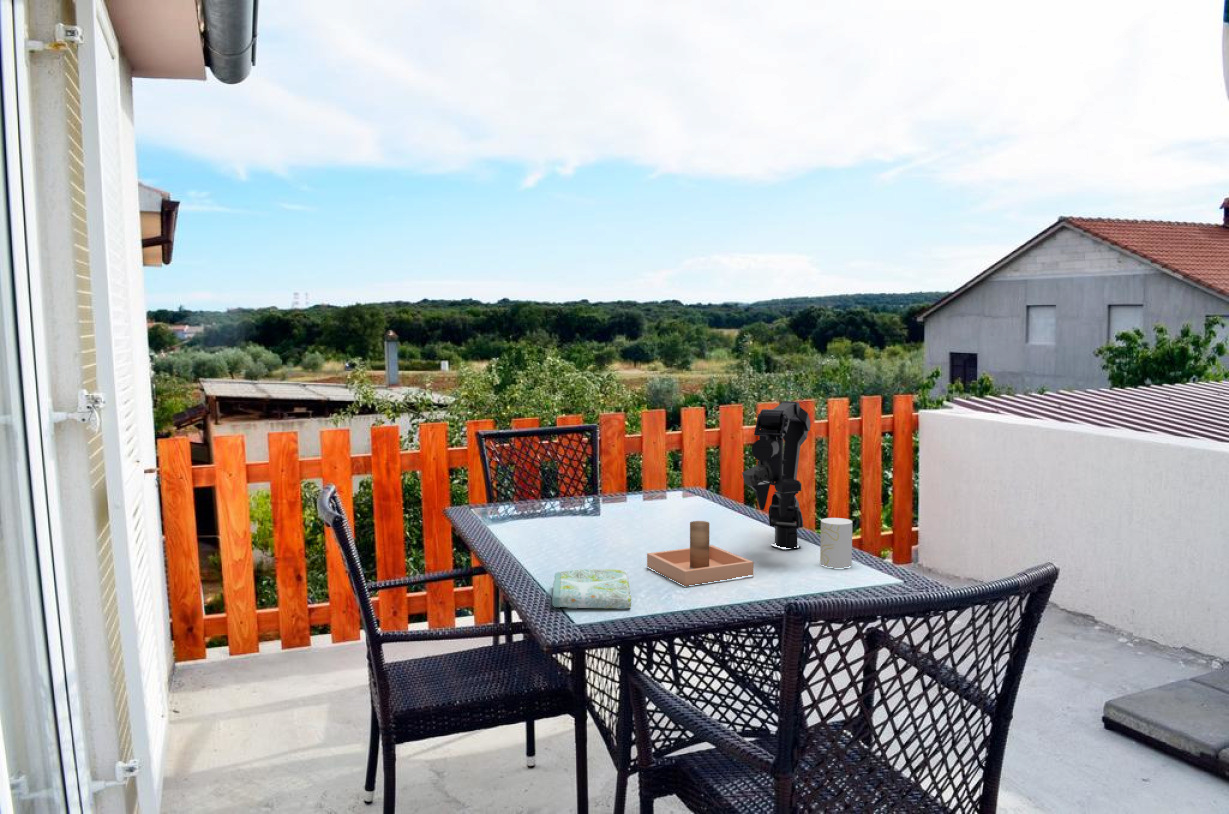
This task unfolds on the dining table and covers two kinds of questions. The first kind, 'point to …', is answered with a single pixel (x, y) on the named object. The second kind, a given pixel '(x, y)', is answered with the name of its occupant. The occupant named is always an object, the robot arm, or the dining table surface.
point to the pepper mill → (699, 544)
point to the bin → (678, 568)
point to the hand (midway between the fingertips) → (771, 513)
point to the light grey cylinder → (836, 542)
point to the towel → (591, 589)
